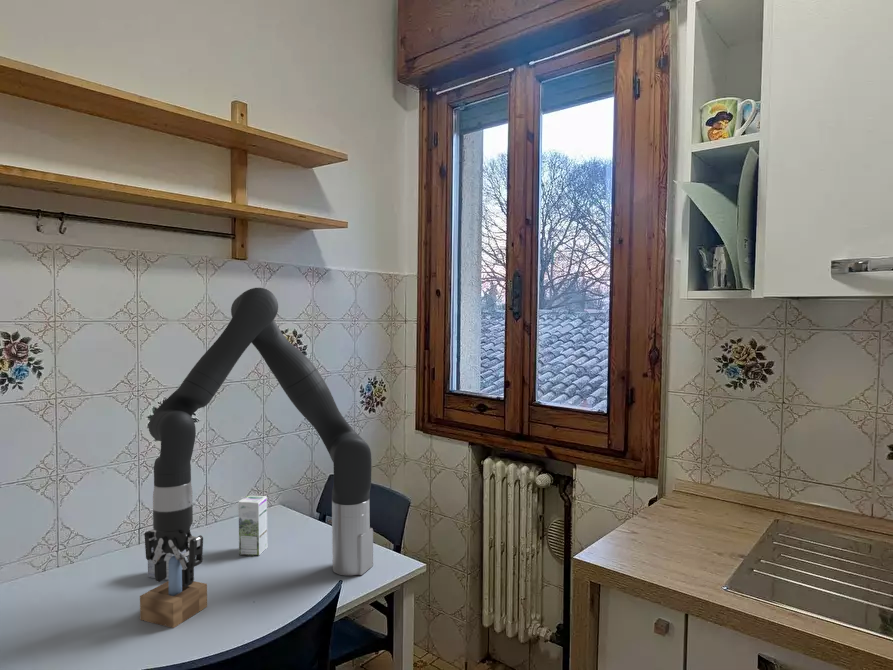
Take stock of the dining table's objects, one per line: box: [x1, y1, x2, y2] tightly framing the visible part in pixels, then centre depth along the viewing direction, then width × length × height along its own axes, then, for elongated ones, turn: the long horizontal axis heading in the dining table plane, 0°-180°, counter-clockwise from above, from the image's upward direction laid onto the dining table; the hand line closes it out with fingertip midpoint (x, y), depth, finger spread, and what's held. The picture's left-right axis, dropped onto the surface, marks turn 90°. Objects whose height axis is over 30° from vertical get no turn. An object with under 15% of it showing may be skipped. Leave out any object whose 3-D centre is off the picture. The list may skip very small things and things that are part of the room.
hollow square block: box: [139, 580, 208, 629], centre depth 118 cm, size 9×9×5 cm
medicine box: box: [147, 547, 187, 581], centre depth 136 cm, size 8×4×9 cm, turn 71°
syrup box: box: [237, 495, 269, 556], centre depth 150 cm, size 6×6×14 cm
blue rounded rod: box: [168, 555, 182, 596], centre depth 118 cm, size 3×3×12 cm
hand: (174, 582), depth 118 cm, fingers open, 6 cm apart
